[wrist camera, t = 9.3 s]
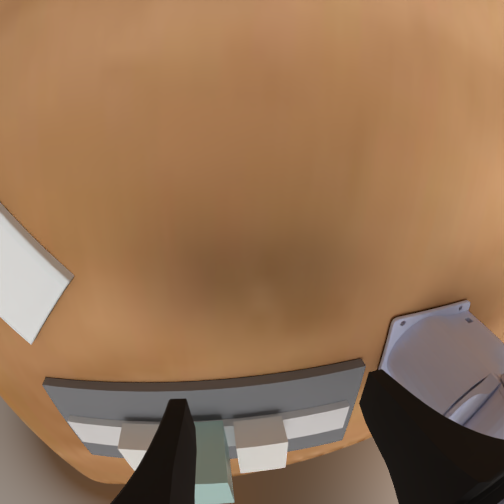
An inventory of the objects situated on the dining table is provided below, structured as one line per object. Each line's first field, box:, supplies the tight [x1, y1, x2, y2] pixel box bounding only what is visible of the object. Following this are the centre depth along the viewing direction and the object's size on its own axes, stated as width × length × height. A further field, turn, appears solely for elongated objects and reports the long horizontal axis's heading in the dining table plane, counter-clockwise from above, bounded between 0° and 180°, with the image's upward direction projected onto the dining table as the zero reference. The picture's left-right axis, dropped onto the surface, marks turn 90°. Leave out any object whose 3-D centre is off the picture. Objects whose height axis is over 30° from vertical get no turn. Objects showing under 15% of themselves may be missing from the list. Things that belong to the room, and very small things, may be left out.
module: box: [194, 420, 234, 504], centre depth 20 cm, size 4×5×6 cm
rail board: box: [42, 359, 366, 473], centre depth 22 cm, size 28×12×5 cm, turn 92°
